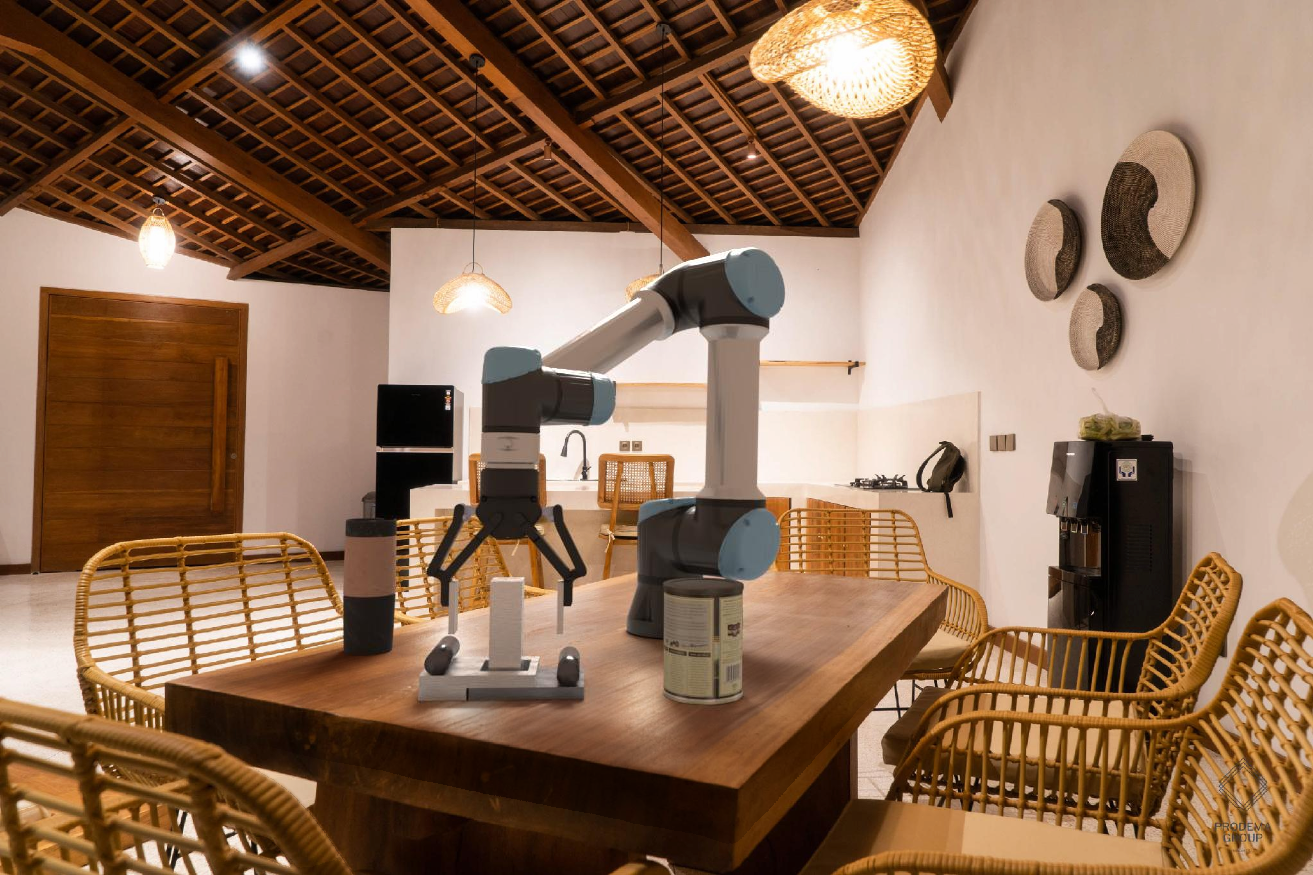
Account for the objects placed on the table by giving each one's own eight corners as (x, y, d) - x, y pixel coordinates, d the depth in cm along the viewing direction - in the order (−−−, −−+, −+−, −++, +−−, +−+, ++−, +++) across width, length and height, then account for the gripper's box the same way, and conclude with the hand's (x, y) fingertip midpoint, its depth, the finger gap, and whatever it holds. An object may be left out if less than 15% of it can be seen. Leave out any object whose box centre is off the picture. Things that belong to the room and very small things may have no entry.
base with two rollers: (583, 678, 112) (584, 635, 112) (583, 699, 102) (584, 651, 102) (433, 679, 110) (434, 635, 110) (418, 700, 100) (419, 652, 100)
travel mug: (339, 656, 122) (343, 521, 123) (343, 645, 129) (347, 517, 130) (393, 654, 124) (397, 520, 125) (394, 643, 131) (398, 517, 132)
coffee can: (673, 680, 111) (674, 575, 112) (748, 687, 108) (749, 579, 109) (652, 701, 101) (653, 585, 102) (735, 708, 99) (736, 590, 99)
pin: (522, 684, 108) (524, 577, 108) (520, 693, 104) (522, 581, 104) (491, 685, 108) (493, 577, 108) (488, 693, 104) (490, 581, 104)
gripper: (405, 465, 102) (401, 638, 101) (607, 468, 104) (604, 637, 103) (417, 465, 109) (413, 626, 109) (605, 468, 112) (603, 626, 111)
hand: (506, 632), depth 106 cm, fingers open, 13 cm apart
